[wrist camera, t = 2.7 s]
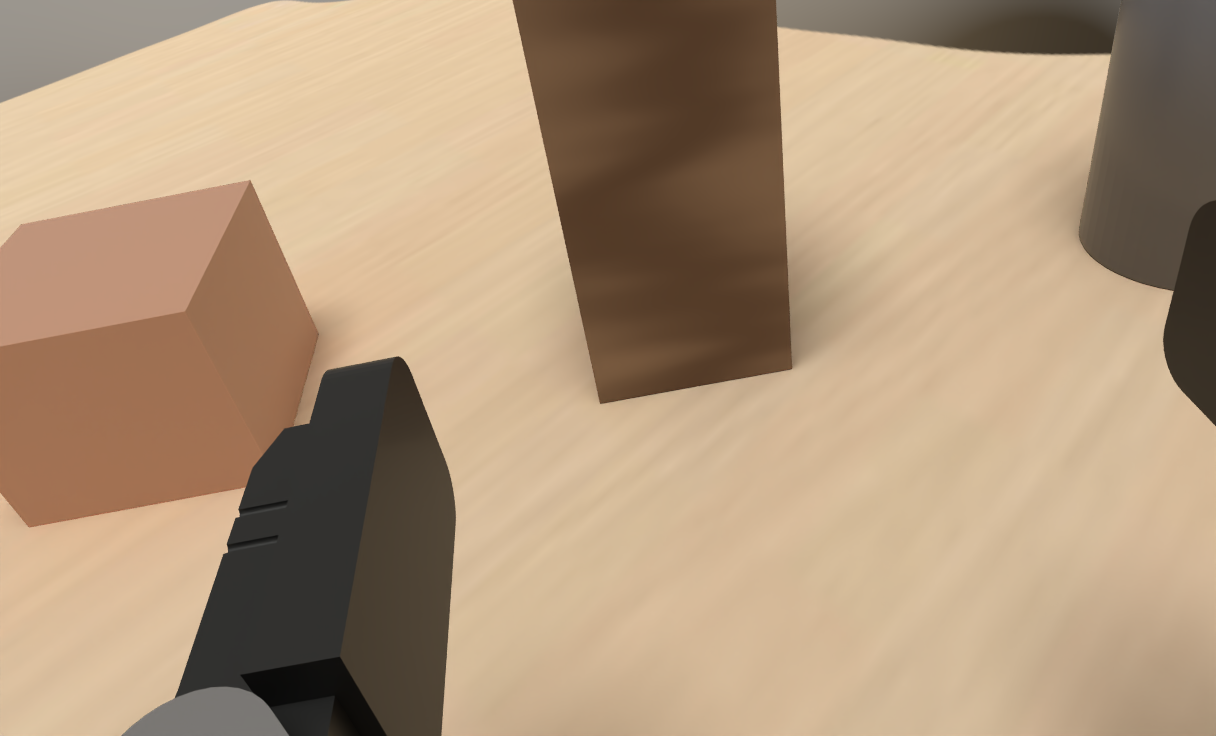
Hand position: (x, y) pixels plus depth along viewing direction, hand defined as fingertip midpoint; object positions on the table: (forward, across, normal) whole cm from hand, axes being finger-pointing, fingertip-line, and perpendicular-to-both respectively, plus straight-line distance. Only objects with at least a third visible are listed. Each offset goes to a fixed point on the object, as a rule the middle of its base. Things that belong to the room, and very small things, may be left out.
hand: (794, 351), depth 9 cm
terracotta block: (+11, +14, +8) cm, 19 cm away
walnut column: (+12, 0, +8) cm, 14 cm away
